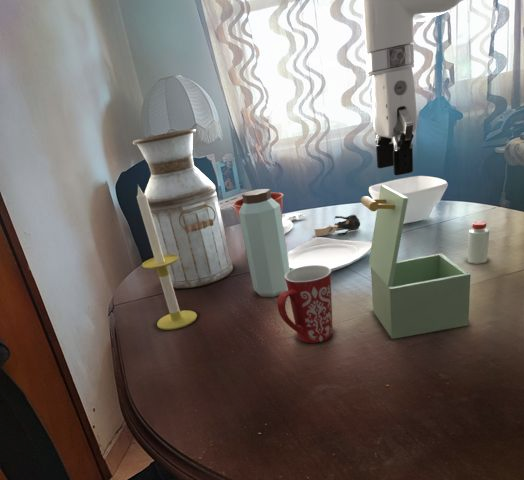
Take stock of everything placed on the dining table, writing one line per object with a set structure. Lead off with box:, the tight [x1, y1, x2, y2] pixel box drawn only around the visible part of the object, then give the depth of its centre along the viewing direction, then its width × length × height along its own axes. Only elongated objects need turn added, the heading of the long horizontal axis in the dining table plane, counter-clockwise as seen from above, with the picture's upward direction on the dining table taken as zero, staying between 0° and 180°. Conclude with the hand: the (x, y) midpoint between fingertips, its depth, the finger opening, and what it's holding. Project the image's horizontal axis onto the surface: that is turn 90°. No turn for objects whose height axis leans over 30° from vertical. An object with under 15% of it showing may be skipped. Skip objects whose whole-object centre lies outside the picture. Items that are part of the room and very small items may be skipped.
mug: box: [277, 265, 334, 344], centre depth 91 cm, size 13×9×14 cm
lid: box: [360, 185, 408, 287], centre depth 85 cm, size 15×13×5 cm
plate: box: [287, 236, 372, 273], centre depth 133 cm, size 24×24×3 cm
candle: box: [136, 184, 198, 331], centre depth 106 cm, size 10×10×32 cm
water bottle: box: [238, 188, 290, 298], centre depth 114 cm, size 10×10×25 cm
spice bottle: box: [467, 220, 490, 264], centre depth 112 cm, size 4×4×9 cm
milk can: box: [132, 128, 234, 289], centre depth 132 cm, size 24×21×40 cm
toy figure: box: [313, 214, 361, 237], centre depth 153 cm, size 7×6×15 cm
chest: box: [370, 253, 472, 340], centre depth 91 cm, size 15×13×10 cm
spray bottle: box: [282, 213, 305, 235], centre depth 173 cm, size 3×11×25 cm
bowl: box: [368, 175, 449, 225], centre depth 151 cm, size 22×22×12 cm
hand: (394, 170), depth 85 cm, fingers open, 9 cm apart
